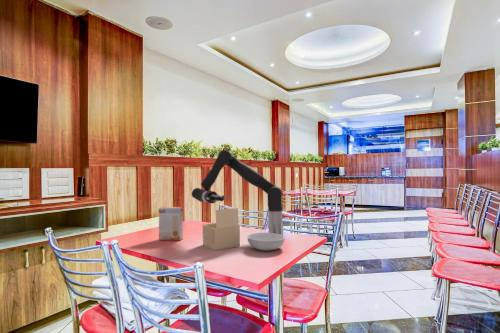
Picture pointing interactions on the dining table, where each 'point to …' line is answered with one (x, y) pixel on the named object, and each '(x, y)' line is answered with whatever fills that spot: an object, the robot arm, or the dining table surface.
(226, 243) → the carton
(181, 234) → the cracker box
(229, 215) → the carton flap
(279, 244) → the serving bowl
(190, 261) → the dining table surface
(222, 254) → the dining table surface
